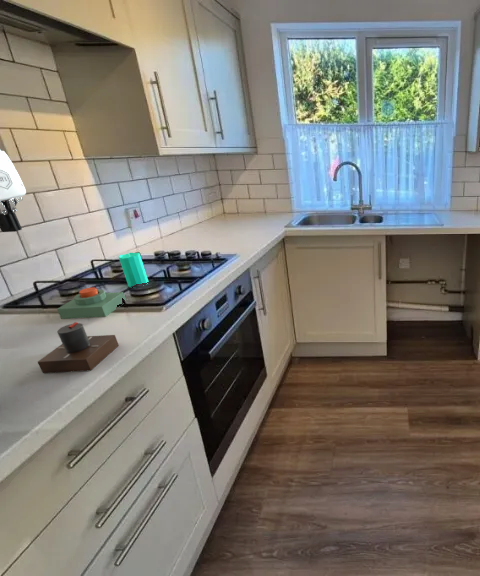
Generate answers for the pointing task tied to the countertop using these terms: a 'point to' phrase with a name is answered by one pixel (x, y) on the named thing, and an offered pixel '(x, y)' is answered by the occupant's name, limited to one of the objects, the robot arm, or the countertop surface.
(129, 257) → the candle
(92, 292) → the orange push button
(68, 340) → the dial
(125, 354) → the countertop surface
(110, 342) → the brown dial base
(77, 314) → the green button box
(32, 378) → the countertop surface
